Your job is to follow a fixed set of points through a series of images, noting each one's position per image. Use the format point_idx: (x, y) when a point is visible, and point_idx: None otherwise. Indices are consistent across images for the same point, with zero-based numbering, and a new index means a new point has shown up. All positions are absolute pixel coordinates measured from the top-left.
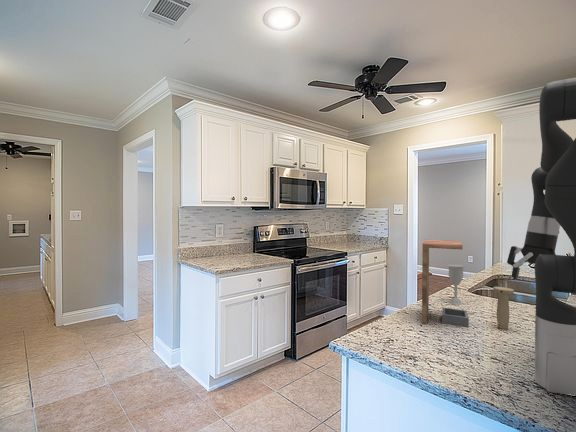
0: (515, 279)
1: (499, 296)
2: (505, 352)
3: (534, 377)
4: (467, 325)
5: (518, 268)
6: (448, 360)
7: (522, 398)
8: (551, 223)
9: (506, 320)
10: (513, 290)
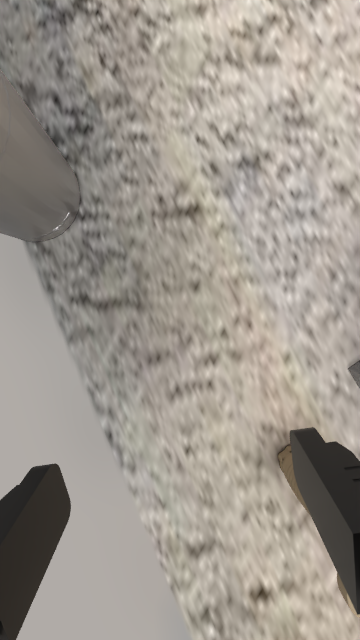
0: (293, 433)
1: None
2: (197, 281)
3: (71, 168)
4: (354, 369)
5: (353, 555)
6: (249, 74)
7: (39, 39)
8: None
9: (290, 469)
10: (346, 597)
